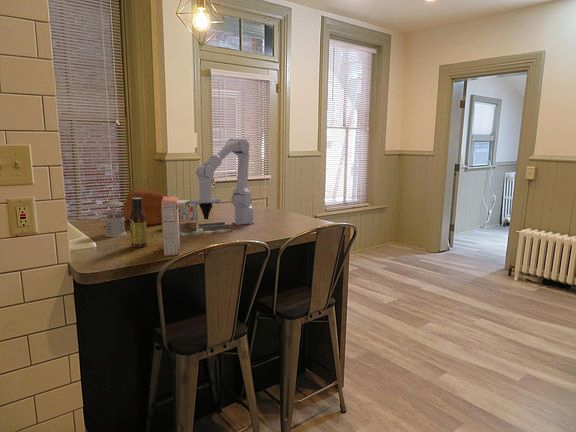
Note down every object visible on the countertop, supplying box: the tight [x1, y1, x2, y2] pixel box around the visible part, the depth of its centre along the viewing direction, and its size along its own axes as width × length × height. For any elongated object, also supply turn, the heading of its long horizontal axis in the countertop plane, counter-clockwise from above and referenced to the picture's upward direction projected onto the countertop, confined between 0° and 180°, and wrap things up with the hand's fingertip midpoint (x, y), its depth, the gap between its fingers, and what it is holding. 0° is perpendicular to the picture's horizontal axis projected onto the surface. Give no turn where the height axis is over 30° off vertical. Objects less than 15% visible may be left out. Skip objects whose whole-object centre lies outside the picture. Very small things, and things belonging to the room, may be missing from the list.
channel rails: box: [198, 221, 230, 231], centre depth 200 cm, size 13×8×2 cm, turn 119°
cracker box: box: [161, 195, 181, 257], centre depth 159 cm, size 14×6×21 cm, turn 13°
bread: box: [122, 188, 165, 226], centre depth 215 cm, size 18×22×17 cm
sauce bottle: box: [129, 197, 148, 248], centre depth 166 cm, size 7×6×20 cm
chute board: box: [179, 226, 233, 237], centre depth 197 cm, size 24×14×1 cm, turn 119°
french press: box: [103, 179, 128, 238], centre depth 185 cm, size 10×12×25 cm
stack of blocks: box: [178, 199, 199, 222], centre depth 212 cm, size 21×6×12 cm, turn 169°
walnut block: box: [179, 221, 198, 232], centre depth 193 cm, size 7×5×4 cm, turn 119°
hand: (206, 218), depth 197 cm, fingers closed
